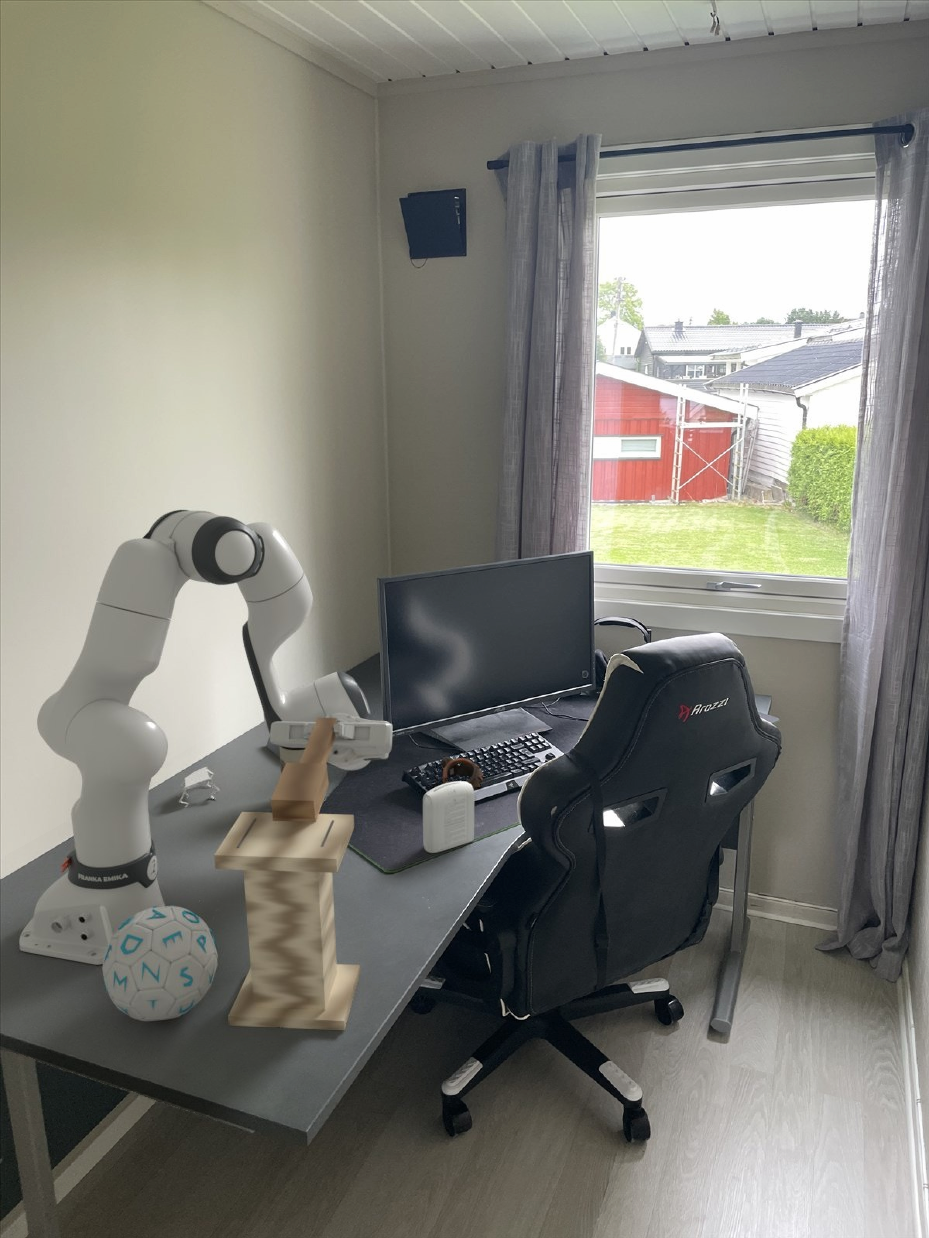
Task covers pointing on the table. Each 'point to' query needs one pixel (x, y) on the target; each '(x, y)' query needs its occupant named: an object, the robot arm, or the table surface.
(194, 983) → the puzzle ball
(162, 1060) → the table surface
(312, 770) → the wooden mallet
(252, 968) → the pine stand
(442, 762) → the pottery mug
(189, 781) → the light grey legged piece
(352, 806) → the table surface
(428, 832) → the photo printer
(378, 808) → the table surface
